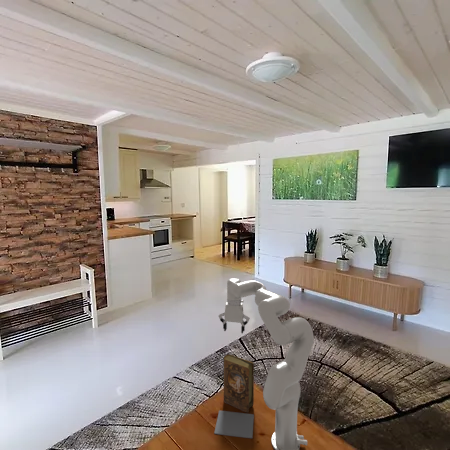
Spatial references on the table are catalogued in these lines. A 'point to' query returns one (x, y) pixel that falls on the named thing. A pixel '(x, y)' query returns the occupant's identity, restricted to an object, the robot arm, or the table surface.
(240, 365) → the book
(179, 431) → the table surface
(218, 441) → the table surface
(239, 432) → the mat
